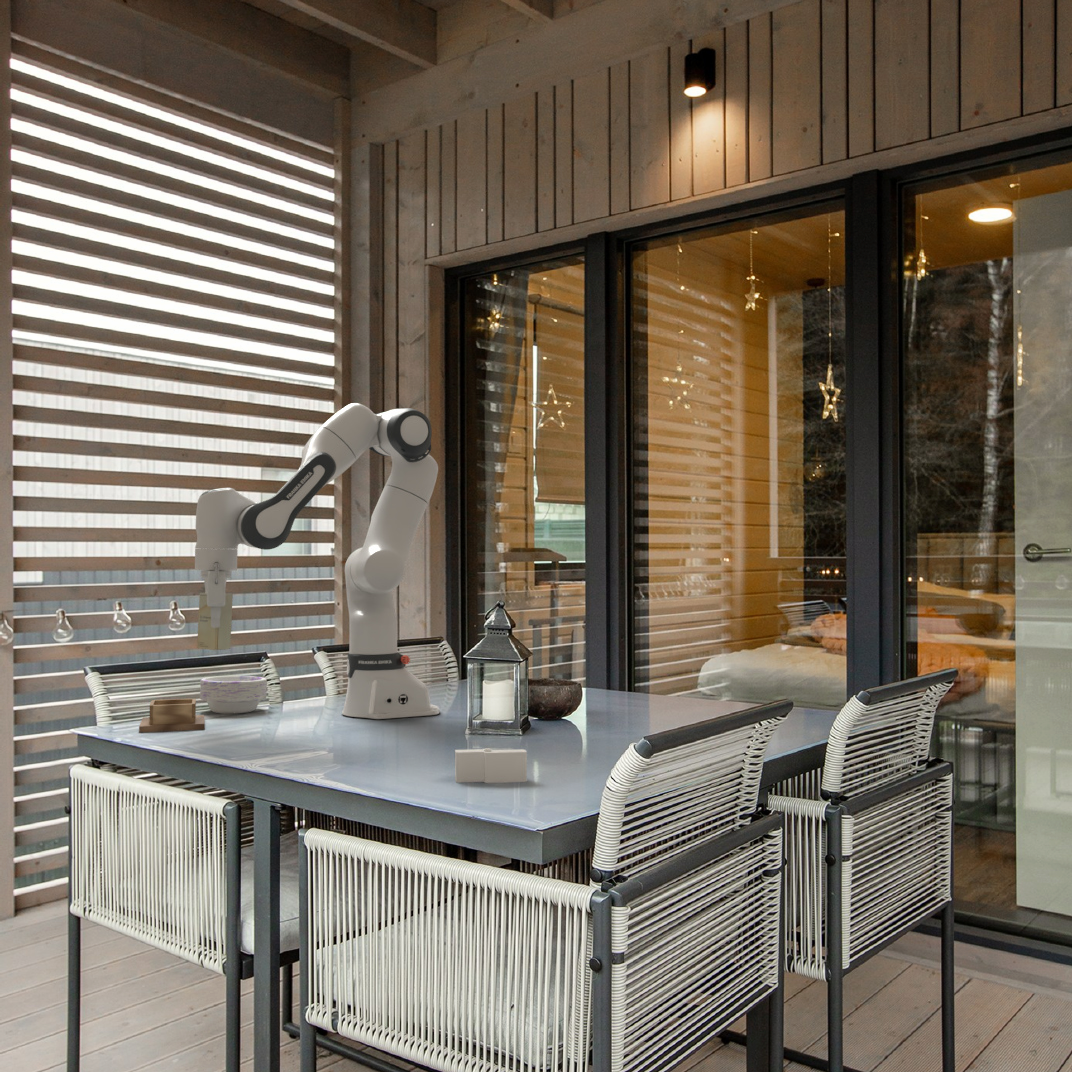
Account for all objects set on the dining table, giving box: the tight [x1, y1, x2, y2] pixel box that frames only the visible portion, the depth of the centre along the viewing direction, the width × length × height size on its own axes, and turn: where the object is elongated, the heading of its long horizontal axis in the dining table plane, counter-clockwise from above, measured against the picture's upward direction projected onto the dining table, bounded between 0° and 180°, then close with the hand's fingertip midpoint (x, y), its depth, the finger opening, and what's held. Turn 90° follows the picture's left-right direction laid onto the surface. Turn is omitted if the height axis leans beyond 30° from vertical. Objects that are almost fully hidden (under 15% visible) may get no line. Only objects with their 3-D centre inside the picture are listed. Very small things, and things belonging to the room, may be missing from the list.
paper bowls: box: [199, 675, 268, 715], centre depth 251 cm, size 15×15×8 cm
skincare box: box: [196, 592, 234, 651], centre depth 229 cm, size 6×4×12 cm
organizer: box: [138, 698, 206, 733], centre depth 228 cm, size 13×13×5 cm
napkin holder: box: [454, 747, 528, 784], centre depth 174 cm, size 15×11×6 cm
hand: (215, 626), depth 229 cm, fingers closed on skincare box, 7 cm apart
